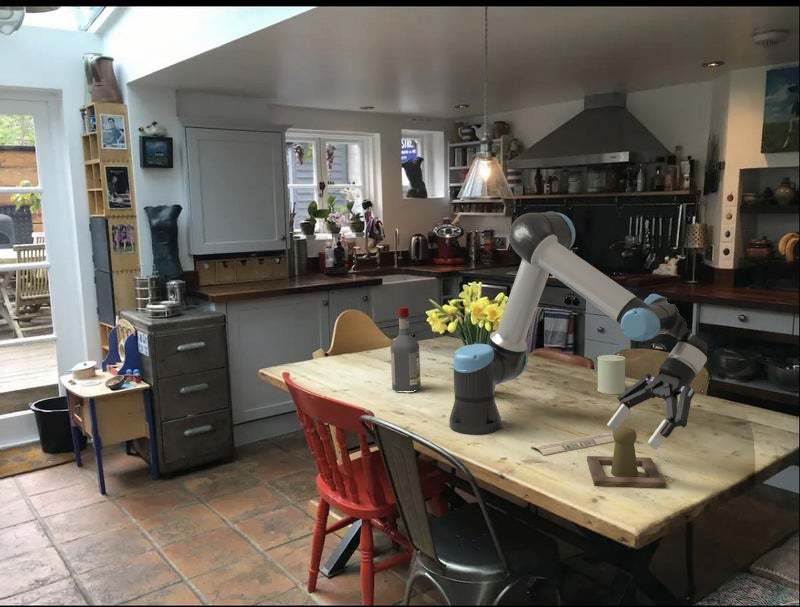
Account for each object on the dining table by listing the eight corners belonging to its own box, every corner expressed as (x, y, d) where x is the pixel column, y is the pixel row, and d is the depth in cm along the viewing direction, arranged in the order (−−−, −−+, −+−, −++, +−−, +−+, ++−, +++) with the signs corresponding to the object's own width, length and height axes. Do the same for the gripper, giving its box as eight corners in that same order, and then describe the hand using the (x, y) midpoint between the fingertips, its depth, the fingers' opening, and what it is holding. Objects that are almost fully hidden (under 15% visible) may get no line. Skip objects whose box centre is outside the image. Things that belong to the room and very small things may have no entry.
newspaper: (604, 437, 176) (604, 430, 176) (621, 445, 170) (621, 438, 169) (530, 450, 168) (530, 444, 168) (545, 460, 161) (545, 453, 161)
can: (625, 395, 213) (625, 359, 211) (596, 393, 216) (596, 358, 214) (625, 387, 221) (625, 353, 220) (597, 386, 224) (597, 353, 223)
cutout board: (594, 485, 143) (594, 480, 143) (586, 460, 158) (586, 455, 158) (665, 488, 141) (665, 482, 140) (650, 462, 155) (650, 457, 155)
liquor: (390, 392, 227) (387, 309, 224) (398, 386, 236) (394, 305, 232) (415, 393, 225) (412, 309, 221) (422, 387, 233) (419, 305, 229)
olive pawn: (620, 480, 145) (621, 434, 144) (605, 471, 151) (605, 426, 150) (643, 476, 147) (644, 430, 146) (627, 467, 153) (628, 423, 151)
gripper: (734, 387, 141) (680, 464, 138) (652, 365, 164) (604, 430, 161) (716, 367, 138) (661, 444, 135) (636, 347, 162) (587, 413, 158)
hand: (630, 437), depth 148 cm, fingers open, 13 cm apart
